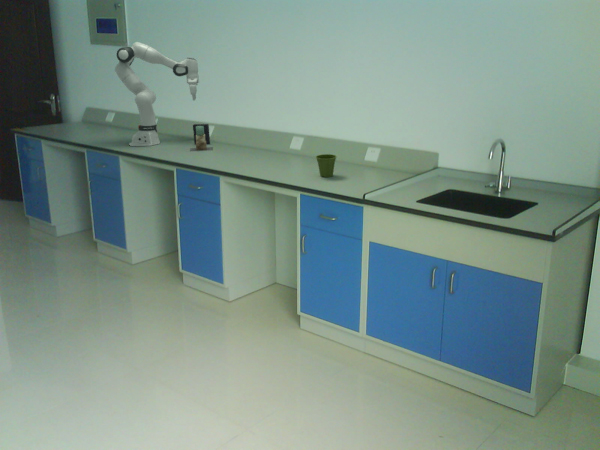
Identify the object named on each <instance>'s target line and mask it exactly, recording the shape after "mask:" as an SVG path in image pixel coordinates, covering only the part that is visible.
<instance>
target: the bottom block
mask: <svg viewBox="0 0 600 450" xmlns="http://www.w3.org/2000/svg"><path fill="white" fill-rule="evenodd" d="M207 147H208V146H207V144H206V141H205V143H196V145H195V148H196V150H207Z"/></svg>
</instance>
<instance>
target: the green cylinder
mask: <svg viewBox="0 0 600 450" xmlns="http://www.w3.org/2000/svg"><path fill="white" fill-rule="evenodd" d="M196 135H197V136H202V135H204V126H196Z"/></svg>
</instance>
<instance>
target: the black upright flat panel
mask: <svg viewBox="0 0 600 450" xmlns="http://www.w3.org/2000/svg"><path fill="white" fill-rule="evenodd" d="M196 126H204V134H205V141H206V145H210V144H211V139H210V125H209V123H194V124H192V130H193V141H194V143H193V144H194V145H195V146H196Z"/></svg>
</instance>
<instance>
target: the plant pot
mask: <svg viewBox="0 0 600 450" xmlns="http://www.w3.org/2000/svg"><path fill="white" fill-rule="evenodd" d="M315 159H316V160H317V165H318V170H319V175H320V177H321V176H322V177H324V178H330V177H333V175H334V170H335V163H336V159H337V155H336V154H331V153H330V154H329V153H325V154H318V155H316V156H315Z"/></svg>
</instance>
